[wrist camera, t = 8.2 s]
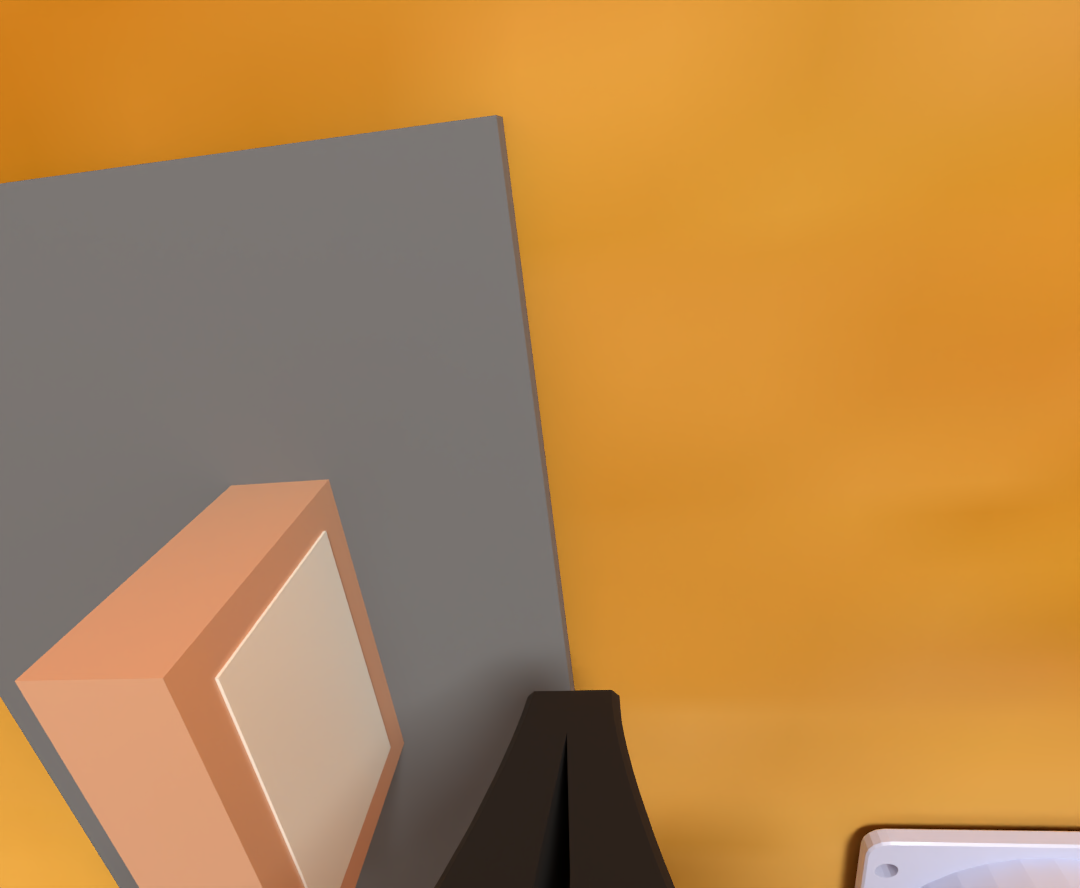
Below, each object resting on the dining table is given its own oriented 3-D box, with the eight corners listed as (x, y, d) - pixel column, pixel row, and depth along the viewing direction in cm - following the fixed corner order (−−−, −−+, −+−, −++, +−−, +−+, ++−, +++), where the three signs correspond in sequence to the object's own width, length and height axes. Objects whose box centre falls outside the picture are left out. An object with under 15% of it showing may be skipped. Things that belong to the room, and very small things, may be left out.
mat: (602, 910, 18) (602, 934, 17) (150, 895, 20) (137, 917, 19) (501, 117, 10) (496, 115, 9) (-252, 221, 12) (-295, 224, 11)
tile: (406, 742, 15) (319, 1001, 10) (323, 743, 15) (204, 995, 11) (331, 478, 12) (166, 678, 8) (231, 485, 12) (15, 680, 8)
